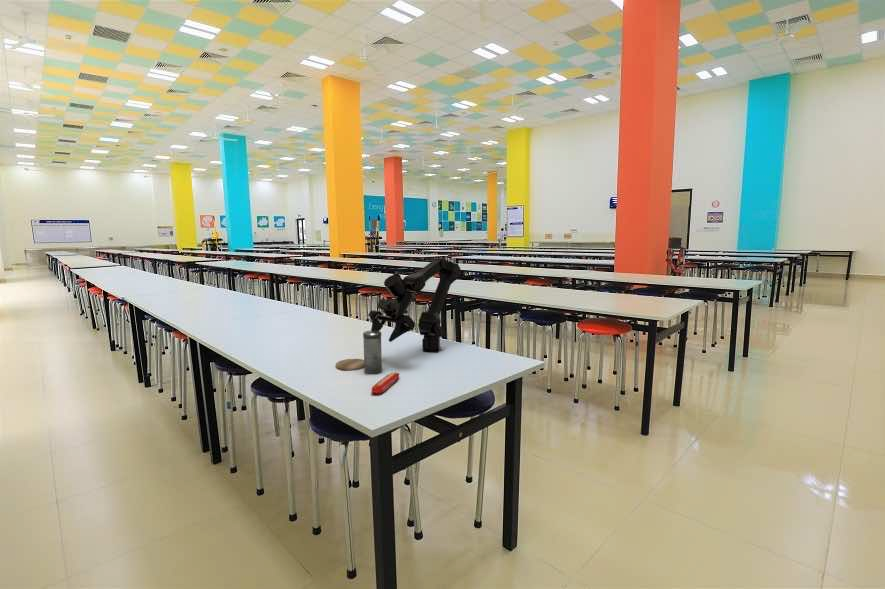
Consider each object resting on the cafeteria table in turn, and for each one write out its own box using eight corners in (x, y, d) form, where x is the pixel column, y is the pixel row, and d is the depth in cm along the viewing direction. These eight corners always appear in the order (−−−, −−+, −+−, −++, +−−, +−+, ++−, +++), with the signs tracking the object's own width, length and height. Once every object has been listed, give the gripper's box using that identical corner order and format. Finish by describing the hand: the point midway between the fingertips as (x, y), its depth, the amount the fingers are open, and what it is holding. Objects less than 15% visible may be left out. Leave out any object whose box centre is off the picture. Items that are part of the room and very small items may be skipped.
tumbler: (384, 369, 151) (383, 330, 149) (379, 375, 145) (378, 334, 143) (367, 368, 152) (366, 330, 150) (361, 374, 146) (360, 334, 144)
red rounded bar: (390, 378, 143) (390, 369, 142) (400, 379, 142) (400, 370, 141) (369, 396, 128) (368, 386, 127) (380, 397, 127) (380, 387, 126)
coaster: (370, 362, 160) (370, 359, 160) (360, 371, 149) (360, 368, 149) (343, 360, 162) (342, 358, 161) (330, 369, 151) (330, 367, 151)
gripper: (371, 288, 158) (349, 322, 150) (409, 292, 147) (387, 329, 139) (386, 306, 165) (366, 340, 158) (424, 312, 154) (404, 348, 147)
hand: (380, 339), depth 150 cm, fingers open, 9 cm apart
